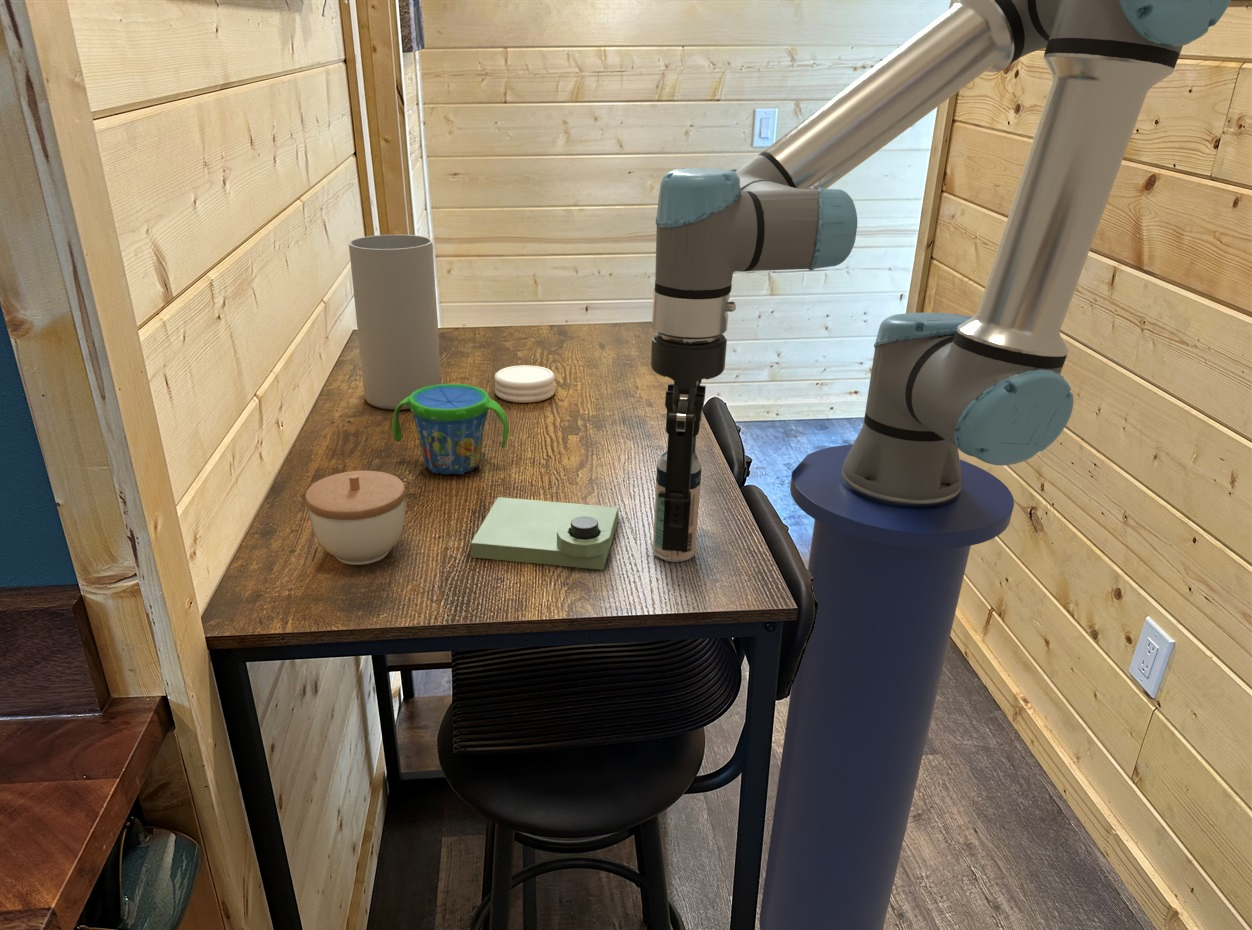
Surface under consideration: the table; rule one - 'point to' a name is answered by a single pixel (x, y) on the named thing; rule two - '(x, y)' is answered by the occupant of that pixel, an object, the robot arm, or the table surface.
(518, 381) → the coaster
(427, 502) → the table surface
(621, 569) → the table surface
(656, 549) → the beer can
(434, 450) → the snack cup
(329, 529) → the trinket box
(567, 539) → the scale
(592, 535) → the button
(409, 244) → the cylinder vase
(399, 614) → the table surface
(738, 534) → the table surface
